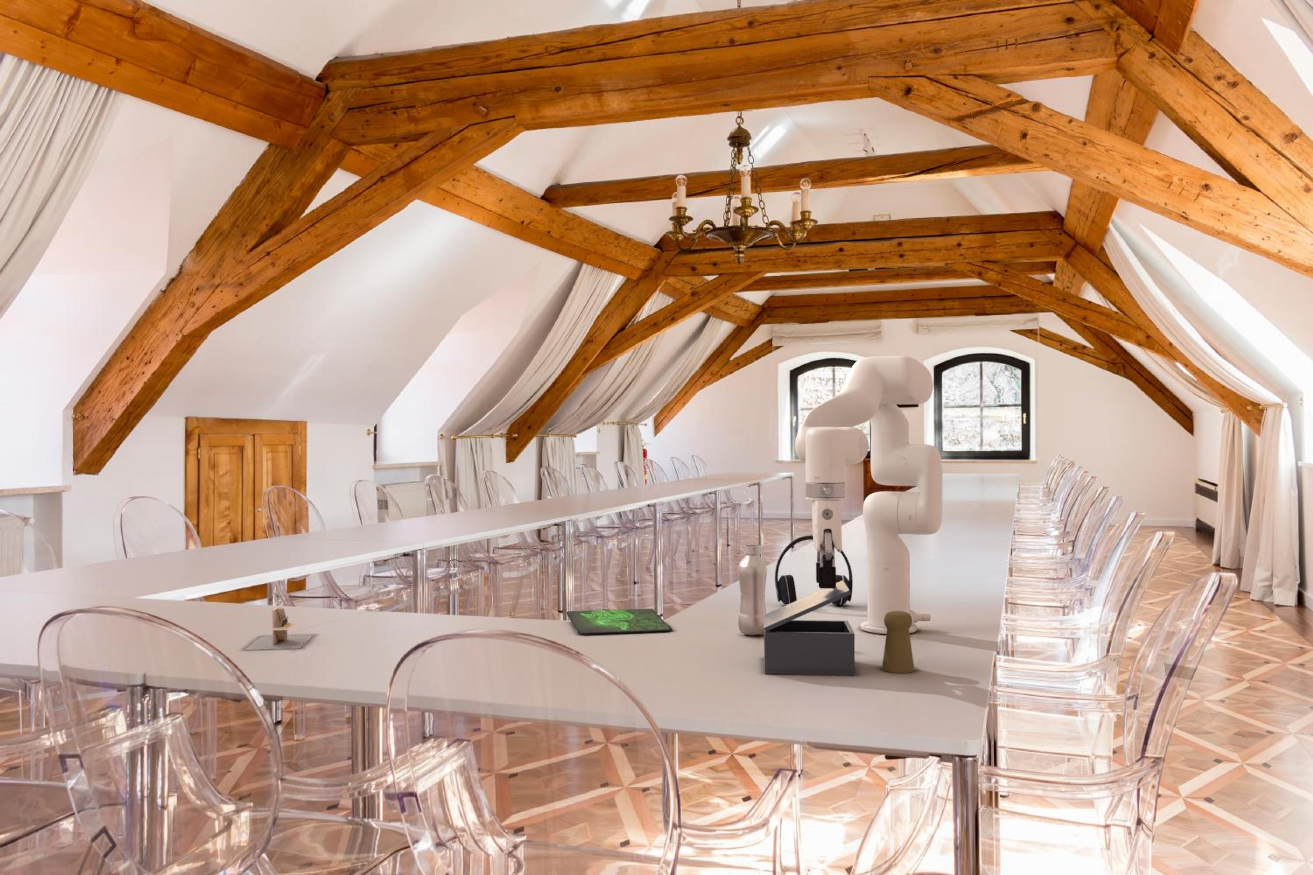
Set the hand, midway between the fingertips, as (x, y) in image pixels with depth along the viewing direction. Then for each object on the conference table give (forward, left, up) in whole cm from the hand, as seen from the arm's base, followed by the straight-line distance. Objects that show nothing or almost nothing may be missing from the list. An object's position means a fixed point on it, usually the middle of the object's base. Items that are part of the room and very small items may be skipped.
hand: (825, 584), depth 201 cm
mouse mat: (+33, -54, -16) cm, 65 cm away
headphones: (-21, -70, -16) cm, 75 cm away
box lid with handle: (+4, -1, -4) cm, 6 cm away
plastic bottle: (+5, -34, -16) cm, 38 cm away
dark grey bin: (+3, -1, -16) cm, 16 cm away
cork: (-13, +4, -16) cm, 21 cm away
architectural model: (+108, -45, -16) cm, 118 cm away
